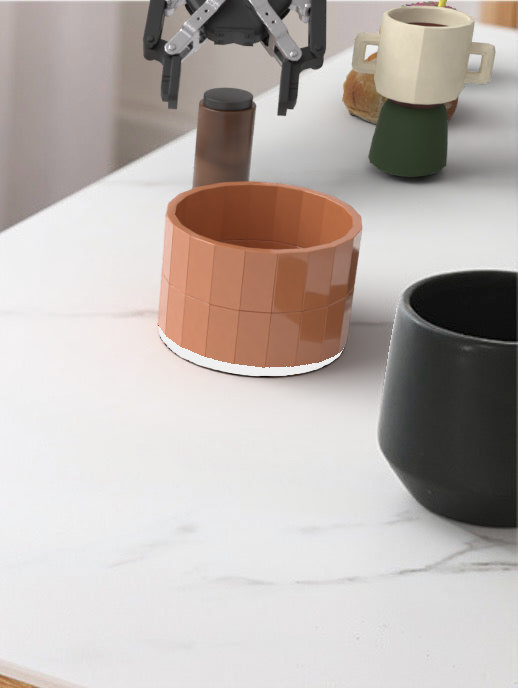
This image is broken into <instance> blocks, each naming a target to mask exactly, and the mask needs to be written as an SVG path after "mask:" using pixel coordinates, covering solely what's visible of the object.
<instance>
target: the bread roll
mask: <svg viewBox="0 0 518 688" xmlns="http://www.w3.org/2000/svg"><path fill="white" fill-rule="evenodd" d="M376 59H377V51H375V52H373V53H371V54H370V55H368V57H367V58H366V59H365V61H366V62H376ZM345 78H346V79H345V80H344V81H343V84H342V89H343V93H342V99H341V100H342V102H343V104H344V105H345V107H346V109H347V111H348V113H349V115H350V116H356V117H358V118H359V119H361V120H363V121H365V122H367V123H370V124H373V125H375V126H376V125H377V121H378V118H379V114H380V111H381V108H382V106H383V105H384V103H385V102H386V100H388V99H389V98H387V97H384V96H382V95H381V94H379V93H378V92H377V91H376V86H375V81H374V74H369V73H358V72H356V71H354V70H353V69H351V70H350V71H349V73H348V74H347V75H346V77H345ZM458 103H459V96H458V97H457V99H456V100H452V101H449V102H446V103H444V105H445V107H446V110H447V113H448V121H449V120H450V119H451V118H452V117H453V115H454V114H455V112H456V110H457V107H458V105H459V104H458Z"/></svg>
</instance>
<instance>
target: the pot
mask: <svg viewBox="0 0 518 688" xmlns="http://www.w3.org/2000/svg"><path fill="white" fill-rule="evenodd" d="M164 220H165V221H164V234H163V247H162V262H161V274H160V287H159V302H158V313H157V314H158V316H157V326H158V325H159V327H160V328H161V330H162V331H163V333H164V334H165V335H166V337H168V338H169V339H171V340H172V341H173V342H175V343H176V344H177V345H179V346H180V347H182V348H185V349H188V350H190V351H192V352H194V353H197V354H199V355H201V356H204V357H207V358H212V359H214V360H218V361H222V362H227V363H231V364H239V365H247V366H255V367H262V368H265V367H269V368H270V367H286V366H287V367H290V366H291V367H294V366H300V365H306V364H307V365H308V364H312V363H319V362H322V361H324V360H326V359H329V358H331V357H334V356H335V355H337V354H338V353H340V352H341V351H342V350H343V348H344V346H345V347H346V345H345V344H347V342H348V337H349V330H350V322H351V314H352V308H353V300H354V293H355V286H356V285H355V284H356V278H357V270H358V263H359V257H360V249H361V242H362V236H363V220H362V216H361V215H360V214H359V213H358V211H357V210H356V209H355V208H354V207H353V206H352V205H350V204H349V203H347V202H345V201H343V200H341V199H340V198H337V197H336V196H333V195H331V194H327V193H325V192H322V191H318V190H316V189H312V188H309V187H303V186H297V185H293V184H287V183H280V182H271V181H270V182H268V181H254V180H253V181H252V180H249V181H244V182H223V183H217V184H211V185H206V186H200V187H196V188H193V189H192V188H191V189H188V190H186V191H183V192H181V193H179V194H177V195H176V196H175V197H174V198H172V199H171V200H170V201H169V202H168V203H167V205H166V211H165V219H164Z"/></svg>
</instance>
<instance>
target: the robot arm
mask: <svg viewBox="0 0 518 688" xmlns="http://www.w3.org/2000/svg"><path fill="white" fill-rule="evenodd" d="M327 3H328V1H327V0H149V4H148V9H147V15H146V20H145V26H144V30H143V36H142V54H143V58H144V59H145V60H146V61H156V62H159V63H160V64H161V66H162V70H161V71H162V73H161V82H160V99H161V100H162V102H164V103H167V110H178V104H179V93H180V84H181V75H182V64H183V62H185V60H187V59H188V58H189V56H190V55H192V54H195V53H197V51H199V49H201V48H202V47H203V45H204V44H206V43H207V42H208V41H211V42H213V45H214V46H216V45H217V46H226V45H232V44H235V45H239V46H243V47H254V44H258V43H260V45H261V46H262V47H263V49H264V50H265V51H266V52H267V54H268V55H269V56H270V58H273V59H275V61H276V62H277V63H278V65H279V67H281V70H280V79H279V89H278V101H277V111H276V115H277V117H286V116H287V112H288V110H294V108H295V107H296V105H297V102H298V96H299V85H300V84H299V83H300V74H301V73H302V72H303V71H305V70H308V69H309V70H310V69H311V70H313V71H315V70H316V71H317V70H320V69H321V68H322V67H323V65H324V62H325V60H324V59H325V55H326V51H327V8H328V7H327V6H328V5H327ZM180 6H184V8H185V10H186V11H187V12H188V14H189V16H190V17H188V18H187V19H186V20H185V22H183V24H182V26H181V27H180V30H178V31H177V32H176V33H175V34H174V35H173V37H171V38H170V39H169V40H165V39H163V38H162V36H163V31H164V26H165V25H164V24H165V20H166V17H167V18H169V17H171V16H173V15H174V14H175V12H176V10H177V8H179V7H180ZM291 11H294V12H295V13H297V16H298V18H299V20H300V21H301V22H302V23H304V24H307V46H303V47H299V45H298V44H297V43H296V42H295V40H294V38H293V37H292V36H291V35H290V32H289V29H288V27H287V26H286V24H285V23H284V22H283V20H284V19H285V18H286V17H287V16H288V15H289V14H290V12H291Z"/></svg>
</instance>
